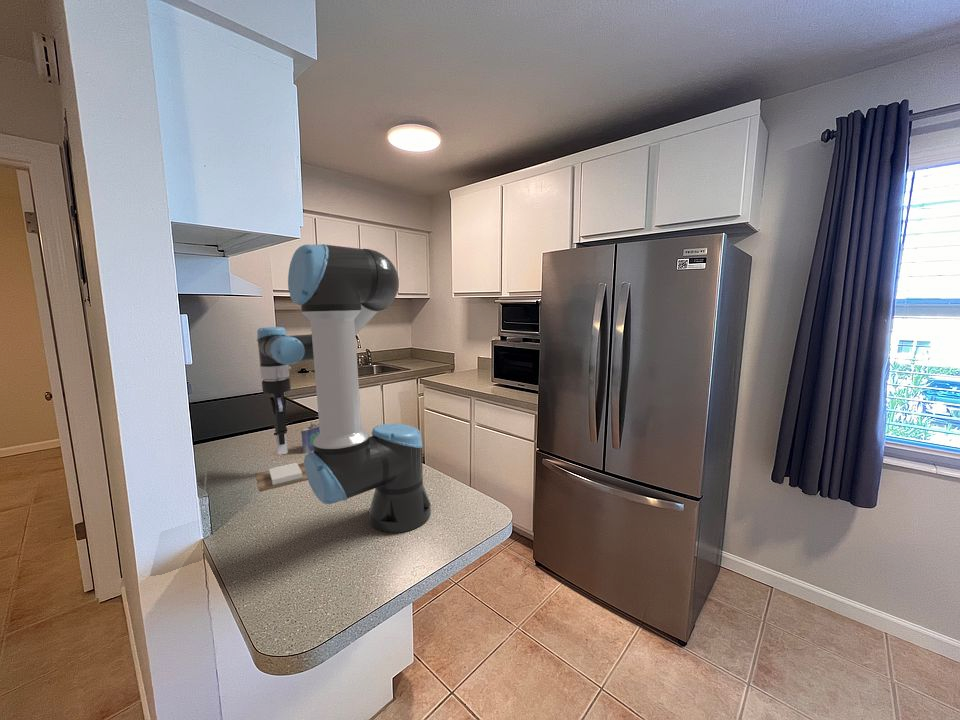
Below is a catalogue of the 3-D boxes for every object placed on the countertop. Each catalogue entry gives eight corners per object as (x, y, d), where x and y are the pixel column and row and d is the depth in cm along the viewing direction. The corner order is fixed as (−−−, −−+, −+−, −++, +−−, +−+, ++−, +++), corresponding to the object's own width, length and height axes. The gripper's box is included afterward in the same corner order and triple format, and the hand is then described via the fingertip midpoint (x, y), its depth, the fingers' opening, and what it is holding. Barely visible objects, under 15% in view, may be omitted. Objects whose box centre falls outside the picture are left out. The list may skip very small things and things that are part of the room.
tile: (297, 467, 124) (302, 478, 116) (269, 474, 119) (272, 485, 112) (297, 462, 123) (302, 472, 116) (268, 468, 119) (272, 479, 112)
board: (316, 479, 117) (316, 477, 117) (259, 493, 108) (259, 491, 108) (307, 463, 128) (307, 462, 128) (255, 475, 120) (255, 473, 120)
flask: (305, 455, 135) (303, 426, 134) (300, 453, 137) (298, 424, 135) (328, 447, 143) (326, 419, 141) (323, 445, 144) (321, 418, 143)
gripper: (293, 380, 112) (299, 457, 116) (286, 373, 123) (292, 444, 127) (263, 384, 108) (271, 463, 112) (259, 376, 119) (266, 449, 123)
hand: (282, 453), depth 119 cm, fingers closed
